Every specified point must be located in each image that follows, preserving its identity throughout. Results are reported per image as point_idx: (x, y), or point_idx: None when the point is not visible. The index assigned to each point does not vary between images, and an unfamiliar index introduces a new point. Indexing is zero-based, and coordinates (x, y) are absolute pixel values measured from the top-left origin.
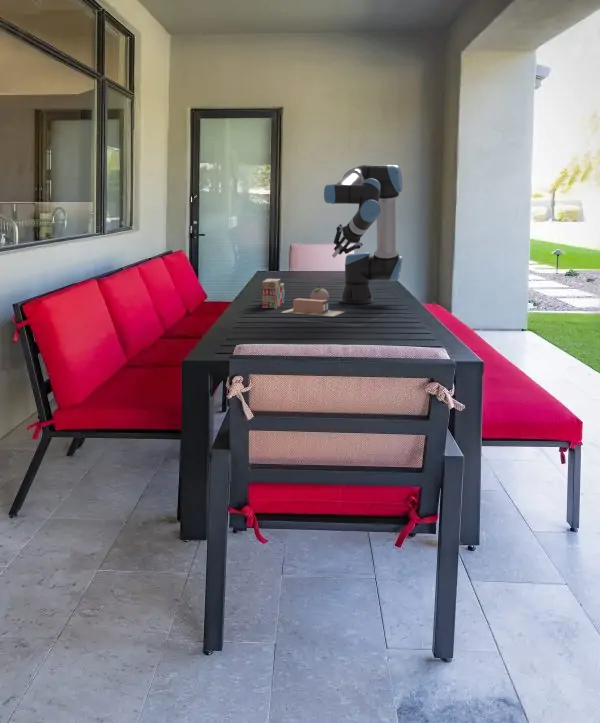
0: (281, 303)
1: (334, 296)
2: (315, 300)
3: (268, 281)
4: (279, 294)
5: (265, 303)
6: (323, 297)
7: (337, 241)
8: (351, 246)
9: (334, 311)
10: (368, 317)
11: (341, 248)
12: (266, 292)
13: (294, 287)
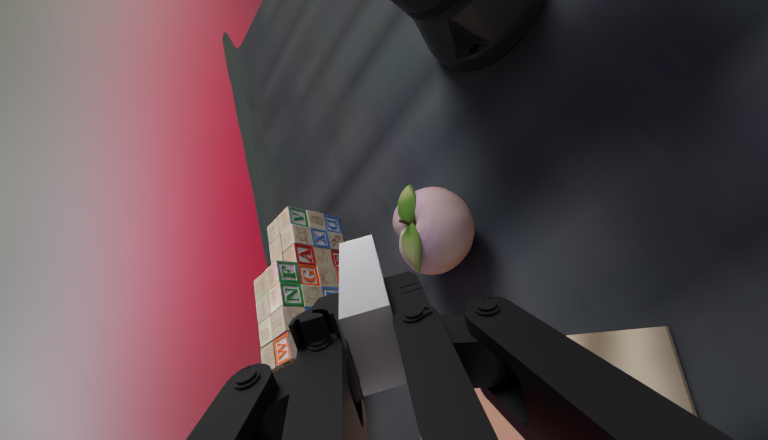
0: None
1: (381, 13)
2: (512, 433)
3: (272, 355)
4: (324, 287)
5: None
6: (461, 249)
7: (279, 429)
8: (552, 393)
9: (604, 348)
10: None
11: (393, 346)
12: None
13: (277, 22)
